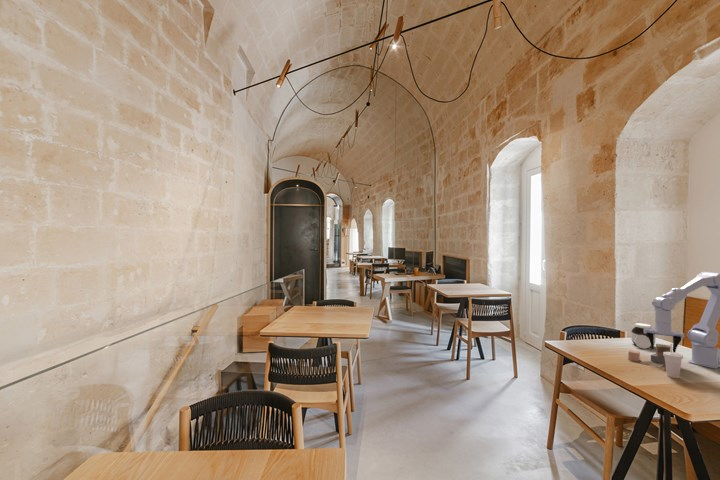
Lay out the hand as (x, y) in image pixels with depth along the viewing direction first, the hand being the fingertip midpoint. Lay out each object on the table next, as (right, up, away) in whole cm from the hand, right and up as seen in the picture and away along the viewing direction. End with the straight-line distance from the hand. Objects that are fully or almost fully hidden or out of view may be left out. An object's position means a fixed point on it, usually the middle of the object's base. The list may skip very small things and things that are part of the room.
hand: (663, 350), depth 164 cm
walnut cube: (0, -3, 0) cm, 3 cm away
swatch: (-7, -6, -2) cm, 9 cm away
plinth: (0, -6, 0) cm, 6 cm away
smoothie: (-10, -6, -16) cm, 20 cm away
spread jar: (+11, -6, +25) cm, 28 cm away
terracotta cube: (-11, -6, +4) cm, 13 cm away
